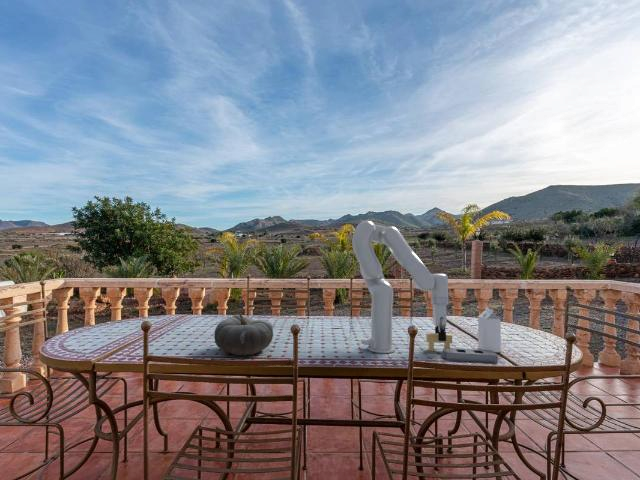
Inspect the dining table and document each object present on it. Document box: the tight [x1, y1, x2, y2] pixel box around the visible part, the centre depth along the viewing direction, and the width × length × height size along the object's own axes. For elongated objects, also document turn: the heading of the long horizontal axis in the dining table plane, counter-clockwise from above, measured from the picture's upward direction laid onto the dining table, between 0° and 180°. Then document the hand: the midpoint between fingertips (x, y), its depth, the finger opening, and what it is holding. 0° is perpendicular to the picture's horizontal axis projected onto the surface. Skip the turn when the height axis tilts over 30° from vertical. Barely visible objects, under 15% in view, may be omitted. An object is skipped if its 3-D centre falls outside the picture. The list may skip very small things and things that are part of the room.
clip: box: [425, 332, 453, 352], centre depth 168 cm, size 11×3×8 cm, turn 81°
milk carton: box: [477, 307, 502, 353], centre depth 169 cm, size 7×7×19 cm
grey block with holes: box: [443, 347, 499, 364], centre depth 156 cm, size 20×8×3 cm, turn 81°
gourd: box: [213, 312, 274, 357], centre depth 163 cm, size 25×25×17 cm
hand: (440, 338), depth 168 cm, fingers open, 9 cm apart
